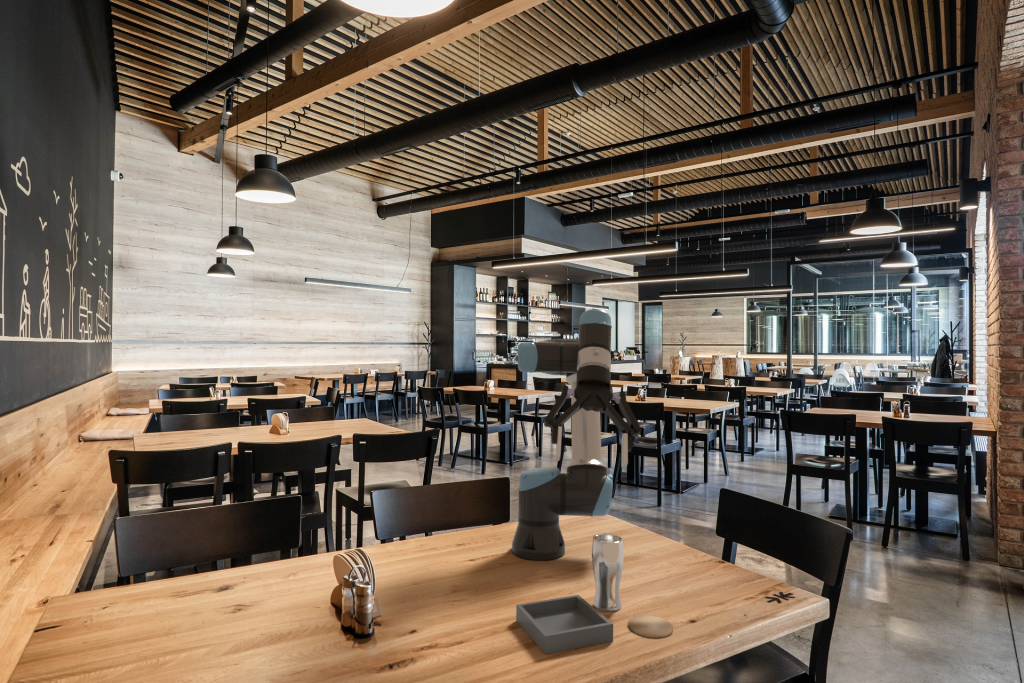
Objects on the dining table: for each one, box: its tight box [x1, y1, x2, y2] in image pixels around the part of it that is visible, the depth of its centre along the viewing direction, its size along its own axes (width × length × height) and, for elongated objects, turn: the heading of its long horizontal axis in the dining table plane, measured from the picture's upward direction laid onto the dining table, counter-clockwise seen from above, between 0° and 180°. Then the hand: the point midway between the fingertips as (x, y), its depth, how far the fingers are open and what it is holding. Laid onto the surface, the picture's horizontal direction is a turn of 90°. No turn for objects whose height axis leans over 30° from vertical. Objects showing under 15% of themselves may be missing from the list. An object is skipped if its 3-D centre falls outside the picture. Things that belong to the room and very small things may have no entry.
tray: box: [515, 594, 614, 655], centre depth 116 cm, size 15×15×3 cm
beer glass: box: [591, 533, 624, 612], centre depth 128 cm, size 7×7×15 cm
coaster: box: [627, 614, 674, 639], centre depth 118 cm, size 9×9×1 cm
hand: (591, 462), depth 117 cm, fingers open, 13 cm apart
